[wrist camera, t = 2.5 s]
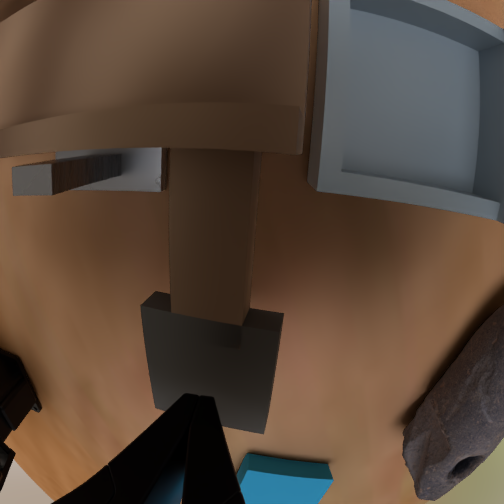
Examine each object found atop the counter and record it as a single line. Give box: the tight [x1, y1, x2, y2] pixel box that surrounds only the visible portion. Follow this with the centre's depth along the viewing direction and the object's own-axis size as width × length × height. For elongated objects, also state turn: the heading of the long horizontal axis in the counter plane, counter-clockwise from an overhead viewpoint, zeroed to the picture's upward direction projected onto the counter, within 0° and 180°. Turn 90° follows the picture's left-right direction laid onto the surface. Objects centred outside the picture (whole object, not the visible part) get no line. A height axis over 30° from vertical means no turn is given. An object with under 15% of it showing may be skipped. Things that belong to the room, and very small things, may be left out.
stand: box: [12, 148, 168, 196], centre depth 9 cm, size 6×11×6 cm, turn 176°
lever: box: [0, 0, 312, 434], centre depth 7 cm, size 17×16×4 cm
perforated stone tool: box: [402, 304, 504, 501], centre depth 14 cm, size 15×5×7 cm, turn 162°
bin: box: [307, 0, 504, 224], centre depth 8 cm, size 9×9×8 cm
